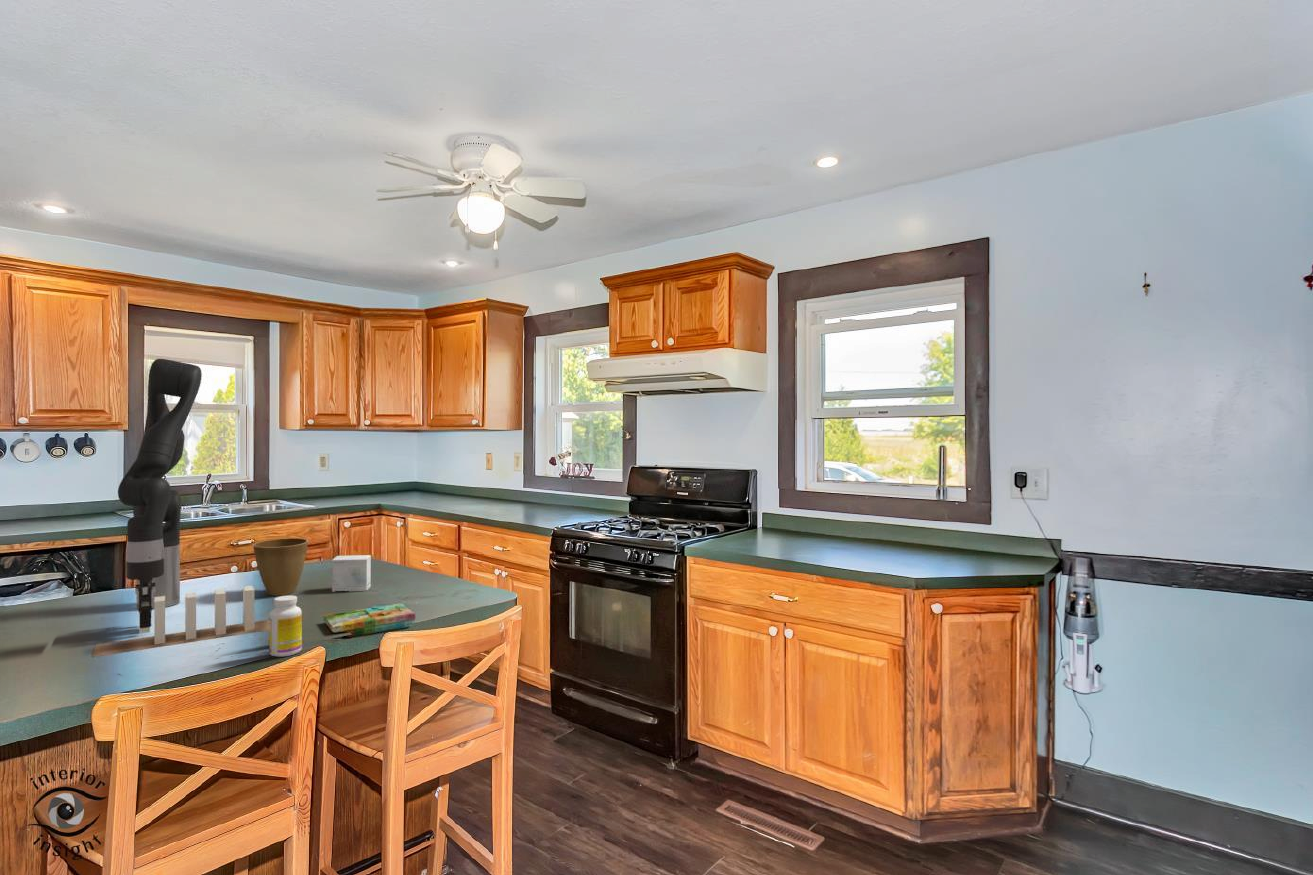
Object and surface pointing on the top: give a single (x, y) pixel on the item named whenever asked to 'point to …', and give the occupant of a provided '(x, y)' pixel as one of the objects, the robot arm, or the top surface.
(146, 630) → the domino
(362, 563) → the skincare box
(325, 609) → the top surface
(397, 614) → the puzzle game
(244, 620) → the domino
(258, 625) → the domino board
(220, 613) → the domino
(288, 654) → the supplement bottle
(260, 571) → the plant pot
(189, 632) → the domino
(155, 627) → the domino
